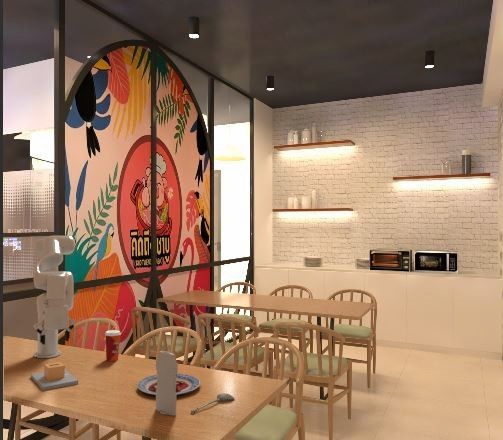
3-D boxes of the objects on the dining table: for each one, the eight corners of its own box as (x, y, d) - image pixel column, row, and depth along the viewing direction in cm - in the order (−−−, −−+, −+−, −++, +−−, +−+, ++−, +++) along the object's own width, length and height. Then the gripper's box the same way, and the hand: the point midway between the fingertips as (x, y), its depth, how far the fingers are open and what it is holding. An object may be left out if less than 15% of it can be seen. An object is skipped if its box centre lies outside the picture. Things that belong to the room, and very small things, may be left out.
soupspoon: (238, 401, 183) (225, 398, 187) (238, 392, 183) (225, 389, 187) (198, 416, 166) (185, 412, 170) (198, 407, 166) (185, 403, 170)
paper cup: (117, 362, 229) (118, 333, 229) (102, 361, 229) (102, 333, 229) (122, 357, 236) (122, 329, 237) (107, 357, 237) (107, 329, 237)
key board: (30, 377, 204) (31, 365, 204) (64, 371, 212) (64, 360, 212) (42, 390, 188) (43, 378, 188) (78, 383, 197) (78, 372, 197)
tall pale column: (180, 414, 167) (181, 352, 168) (172, 417, 164) (173, 355, 164) (159, 407, 173) (160, 347, 174) (151, 410, 170) (152, 350, 170)
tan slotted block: (48, 380, 196) (48, 367, 196) (44, 376, 201) (44, 363, 201) (64, 377, 200) (64, 365, 200) (59, 373, 205) (60, 361, 205)
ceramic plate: (188, 402, 179) (188, 395, 179) (126, 396, 184) (126, 389, 184) (207, 380, 204) (207, 374, 204) (152, 376, 209) (152, 369, 209)
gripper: (36, 305, 192) (35, 347, 192) (79, 302, 203) (78, 341, 203) (32, 303, 198) (31, 343, 198) (73, 299, 209) (72, 337, 209)
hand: (54, 342), depth 201 cm, fingers open, 9 cm apart
